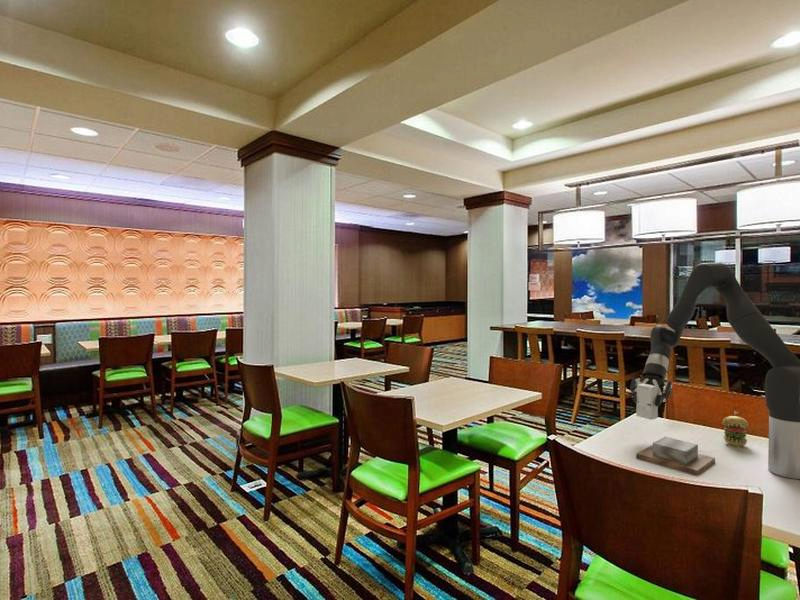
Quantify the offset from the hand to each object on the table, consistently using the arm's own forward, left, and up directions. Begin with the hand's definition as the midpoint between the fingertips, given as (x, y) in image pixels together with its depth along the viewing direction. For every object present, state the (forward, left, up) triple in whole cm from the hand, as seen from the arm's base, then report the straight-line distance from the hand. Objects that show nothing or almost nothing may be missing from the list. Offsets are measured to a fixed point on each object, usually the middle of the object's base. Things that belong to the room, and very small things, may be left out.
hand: (645, 403), depth 165 cm
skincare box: (0, -2, -6) cm, 6 cm away
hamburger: (-22, -22, -15) cm, 35 cm away
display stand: (-14, +11, -15) cm, 23 cm away
